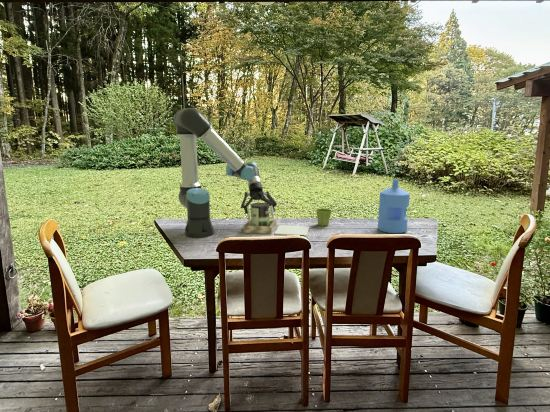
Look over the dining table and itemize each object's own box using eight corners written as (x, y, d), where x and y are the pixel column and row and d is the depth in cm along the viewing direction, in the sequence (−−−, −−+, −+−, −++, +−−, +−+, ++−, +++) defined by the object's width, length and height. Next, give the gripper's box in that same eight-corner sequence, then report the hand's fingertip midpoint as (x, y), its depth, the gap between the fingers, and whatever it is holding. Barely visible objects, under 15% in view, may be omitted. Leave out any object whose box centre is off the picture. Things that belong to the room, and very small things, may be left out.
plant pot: (319, 221, 229) (319, 207, 227) (333, 224, 224) (334, 209, 223) (312, 225, 221) (312, 210, 219) (327, 227, 217) (328, 212, 215)
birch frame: (243, 232, 207) (243, 226, 206) (249, 224, 222) (249, 219, 221) (271, 233, 204) (271, 227, 204) (276, 226, 219) (276, 220, 218)
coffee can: (271, 227, 217) (271, 202, 214) (267, 232, 207) (267, 206, 204) (253, 226, 219) (253, 202, 216) (248, 231, 209) (248, 205, 206)
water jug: (371, 228, 216) (374, 178, 210) (392, 224, 223) (396, 177, 217) (391, 235, 203) (395, 182, 197) (413, 231, 210) (417, 180, 204)
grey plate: (274, 234, 203) (274, 233, 203) (279, 226, 220) (279, 225, 219) (306, 236, 201) (306, 235, 200) (309, 227, 217) (309, 226, 217)
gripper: (274, 188, 227) (281, 219, 217) (232, 190, 221) (238, 222, 210) (277, 181, 221) (284, 212, 210) (234, 182, 215) (239, 215, 204)
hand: (261, 217), depth 210 cm, fingers open, 13 cm apart
